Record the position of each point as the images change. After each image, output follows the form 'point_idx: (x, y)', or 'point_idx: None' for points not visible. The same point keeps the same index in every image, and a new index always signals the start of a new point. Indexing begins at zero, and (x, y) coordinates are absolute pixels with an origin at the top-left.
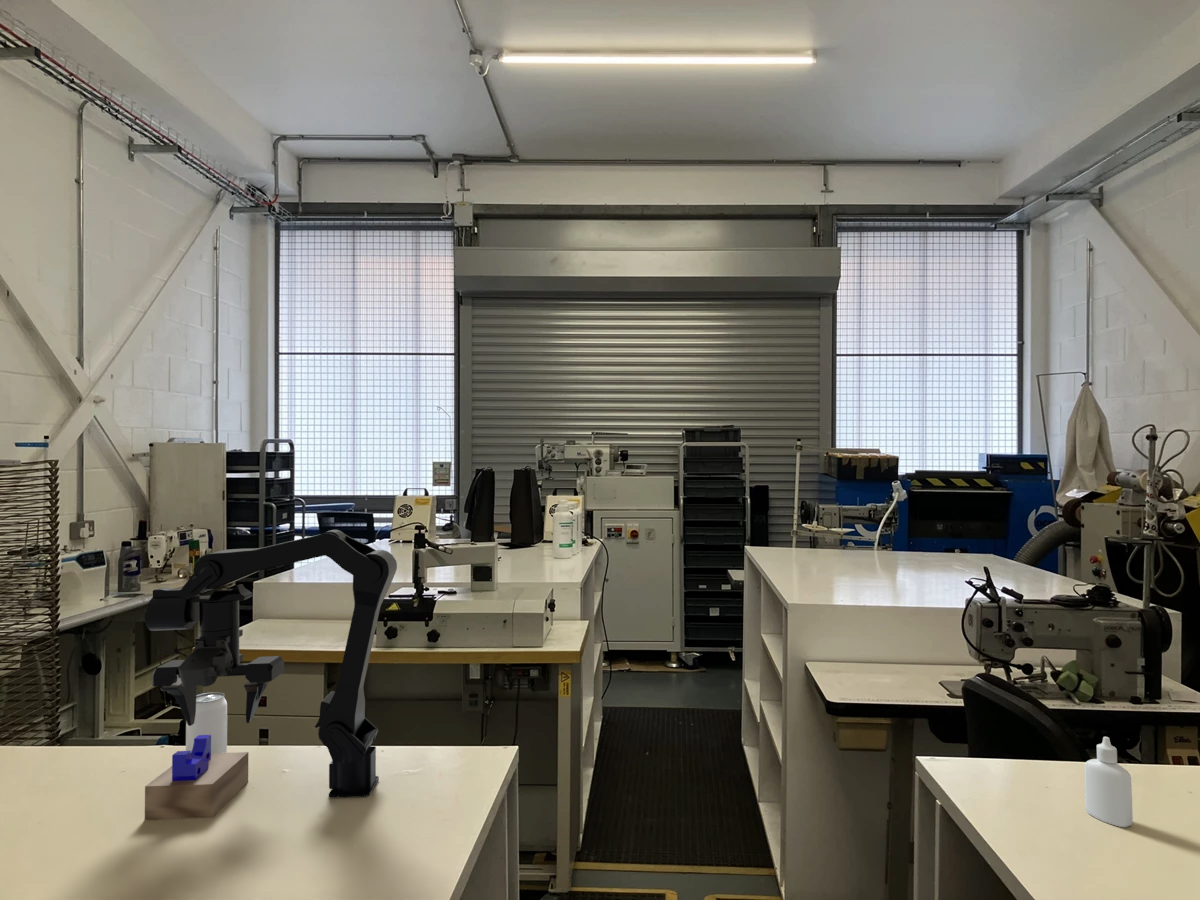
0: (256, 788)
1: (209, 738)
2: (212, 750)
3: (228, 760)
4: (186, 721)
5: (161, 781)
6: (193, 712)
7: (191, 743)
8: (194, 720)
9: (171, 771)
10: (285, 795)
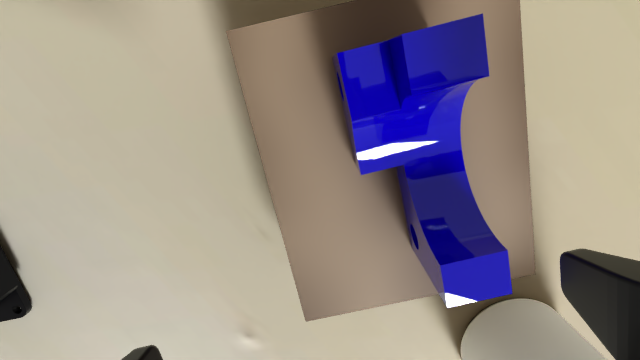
0: (252, 232)
1: (440, 286)
2: (497, 355)
3: (329, 246)
4: (618, 256)
5: None
6: (638, 351)
7: (583, 355)
8: (575, 309)
9: (497, 119)
10: (130, 207)
